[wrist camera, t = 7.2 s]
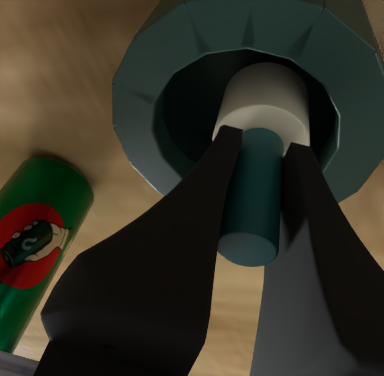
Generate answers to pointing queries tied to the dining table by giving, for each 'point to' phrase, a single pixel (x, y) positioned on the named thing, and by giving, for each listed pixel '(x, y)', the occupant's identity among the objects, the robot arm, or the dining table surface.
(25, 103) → the dining table surface
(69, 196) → the soda can
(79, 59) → the dining table surface
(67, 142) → the dining table surface
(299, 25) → the jar
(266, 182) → the teal peg on base
